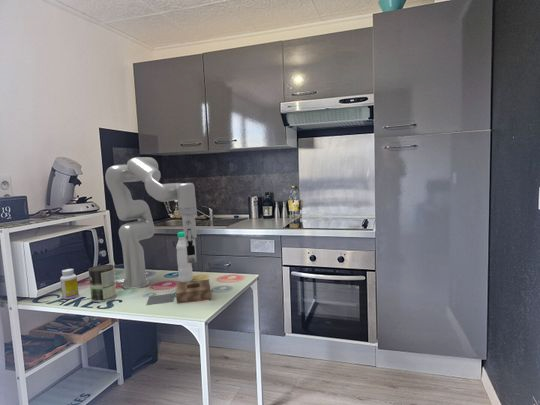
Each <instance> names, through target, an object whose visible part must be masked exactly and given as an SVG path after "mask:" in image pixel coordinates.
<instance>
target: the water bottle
mask: <svg viewBox="0 0 540 405" xmlns="http://www.w3.org/2000/svg"><path fill="white" fill-rule="evenodd" d="M177 238H178V241H177V243H176V247H175V249H176V261H177V271H178V272H177V273H178V282H179V283H182V282H190V281H194V274H193V267H192V264H193V263H187V252H186V241H185V236H184V231H178V232H177Z"/></svg>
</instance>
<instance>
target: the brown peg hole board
mask: <svg viewBox="0 0 540 405" xmlns="http://www.w3.org/2000/svg"><path fill="white" fill-rule="evenodd" d="M211 294H212V293H211V284H210V279H209V278H208V279H200V280H192V281H190V282H177V285H176V292H175V295H176V296H175V298H176V304H177V305H178V304H183V303H191V302H199V301H206V300H208V301H209V302H210V301H212V295H211Z"/></svg>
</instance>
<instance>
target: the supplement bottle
mask: <svg viewBox="0 0 540 405" xmlns="http://www.w3.org/2000/svg"><path fill="white" fill-rule="evenodd" d="M74 271H75V270H74V268H67V269H62V270H61V274H62V275H61V277H60V278H59V279H60V289H61V298H62V299H63V300H72V299H74V298H77V297H79V295H80V294H79V293H80V292H79V285H78V278H77V275H76V274H75V273H74Z"/></svg>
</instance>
